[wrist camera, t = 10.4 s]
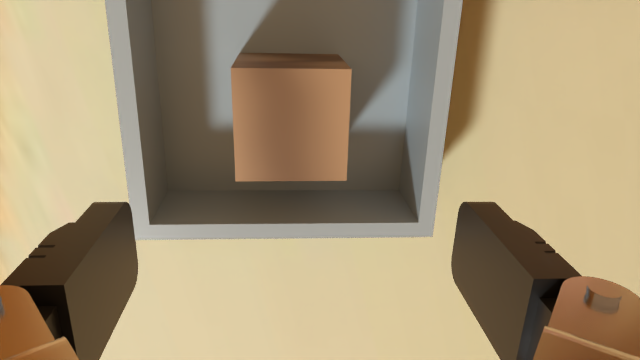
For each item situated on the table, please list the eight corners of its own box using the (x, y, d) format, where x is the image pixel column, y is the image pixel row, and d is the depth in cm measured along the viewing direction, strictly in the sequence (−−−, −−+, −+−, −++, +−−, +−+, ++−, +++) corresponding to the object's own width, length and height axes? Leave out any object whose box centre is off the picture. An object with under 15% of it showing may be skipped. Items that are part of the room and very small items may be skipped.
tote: (449, -201, 22) (495, -251, 18) (408, 197, 29) (432, 237, 25) (116, -223, 21) (70, -284, 16) (157, 198, 28) (133, 239, 23)
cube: (338, 54, 25) (351, 69, 20) (334, 147, 27) (346, 180, 22) (239, 52, 25) (230, 67, 20) (242, 147, 26) (235, 181, 22)
